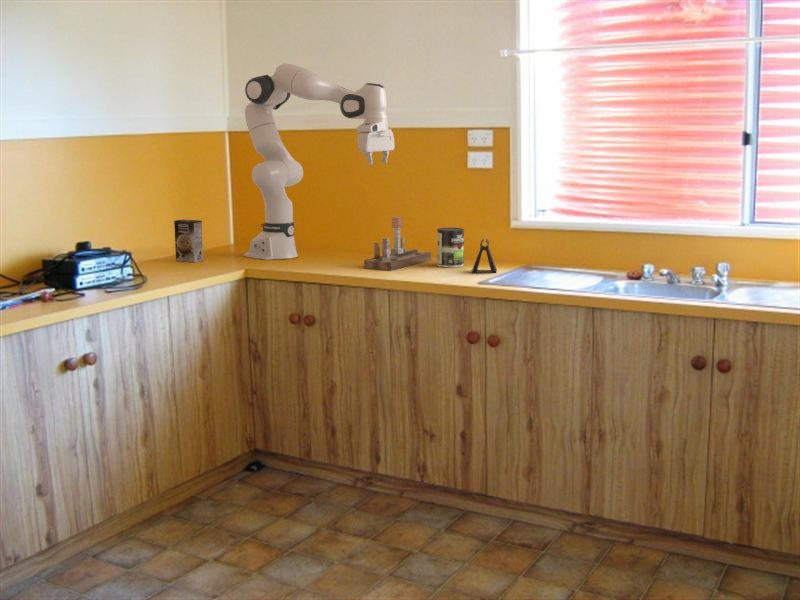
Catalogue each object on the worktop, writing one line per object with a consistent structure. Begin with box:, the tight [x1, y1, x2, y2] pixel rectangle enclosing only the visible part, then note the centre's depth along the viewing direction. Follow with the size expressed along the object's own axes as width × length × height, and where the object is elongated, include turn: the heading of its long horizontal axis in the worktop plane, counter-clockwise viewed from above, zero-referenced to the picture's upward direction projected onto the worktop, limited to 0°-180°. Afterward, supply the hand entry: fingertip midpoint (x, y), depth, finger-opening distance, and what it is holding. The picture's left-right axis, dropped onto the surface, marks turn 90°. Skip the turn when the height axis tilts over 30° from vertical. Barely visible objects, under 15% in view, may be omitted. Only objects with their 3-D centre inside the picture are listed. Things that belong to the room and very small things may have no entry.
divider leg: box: [390, 216, 404, 254], centre depth 378 cm, size 3×4×14 cm
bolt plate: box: [363, 236, 432, 272], centre depth 380 cm, size 12×30×11 cm, turn 148°
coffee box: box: [173, 218, 204, 263], centre depth 389 cm, size 9×6×16 cm
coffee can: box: [436, 227, 465, 268], centre depth 375 cm, size 10×10×14 cm
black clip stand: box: [471, 238, 498, 274], centre depth 360 cm, size 9×6×12 cm, turn 83°
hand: (377, 163), depth 374 cm, fingers open, 8 cm apart
